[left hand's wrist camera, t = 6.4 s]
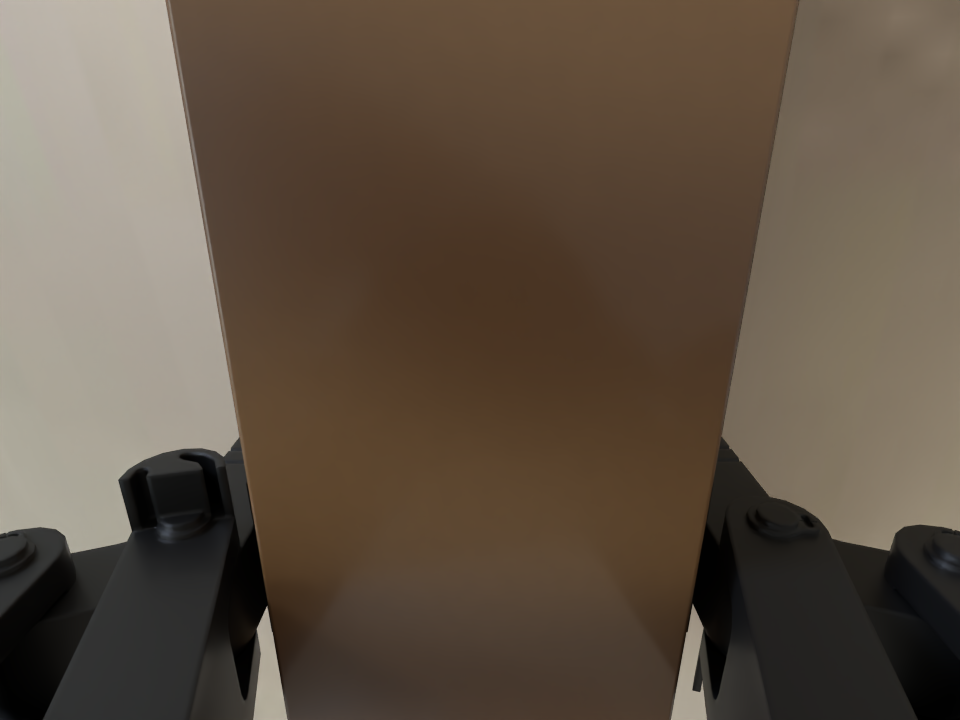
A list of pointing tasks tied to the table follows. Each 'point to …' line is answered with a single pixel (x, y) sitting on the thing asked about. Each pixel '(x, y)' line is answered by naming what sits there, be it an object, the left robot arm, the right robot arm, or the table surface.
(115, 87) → the table surface
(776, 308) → the table surface
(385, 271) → the beam
